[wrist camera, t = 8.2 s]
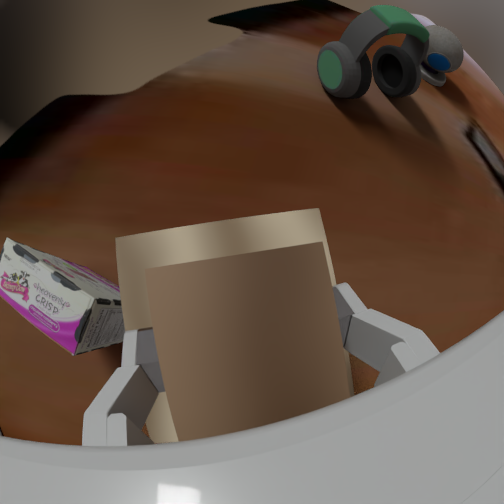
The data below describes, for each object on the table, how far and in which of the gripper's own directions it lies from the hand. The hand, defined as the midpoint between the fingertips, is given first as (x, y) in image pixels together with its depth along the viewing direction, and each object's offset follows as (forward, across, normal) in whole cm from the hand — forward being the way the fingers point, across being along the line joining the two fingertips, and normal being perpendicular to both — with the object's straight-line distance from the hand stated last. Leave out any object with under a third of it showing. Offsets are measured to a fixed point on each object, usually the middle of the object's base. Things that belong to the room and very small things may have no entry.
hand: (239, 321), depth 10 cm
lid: (+5, 0, +6) cm, 7 cm away
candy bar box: (+21, +14, +14) cm, 29 cm away
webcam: (+50, -60, -14) cm, 79 cm away
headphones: (+42, -33, -7) cm, 54 cm away
